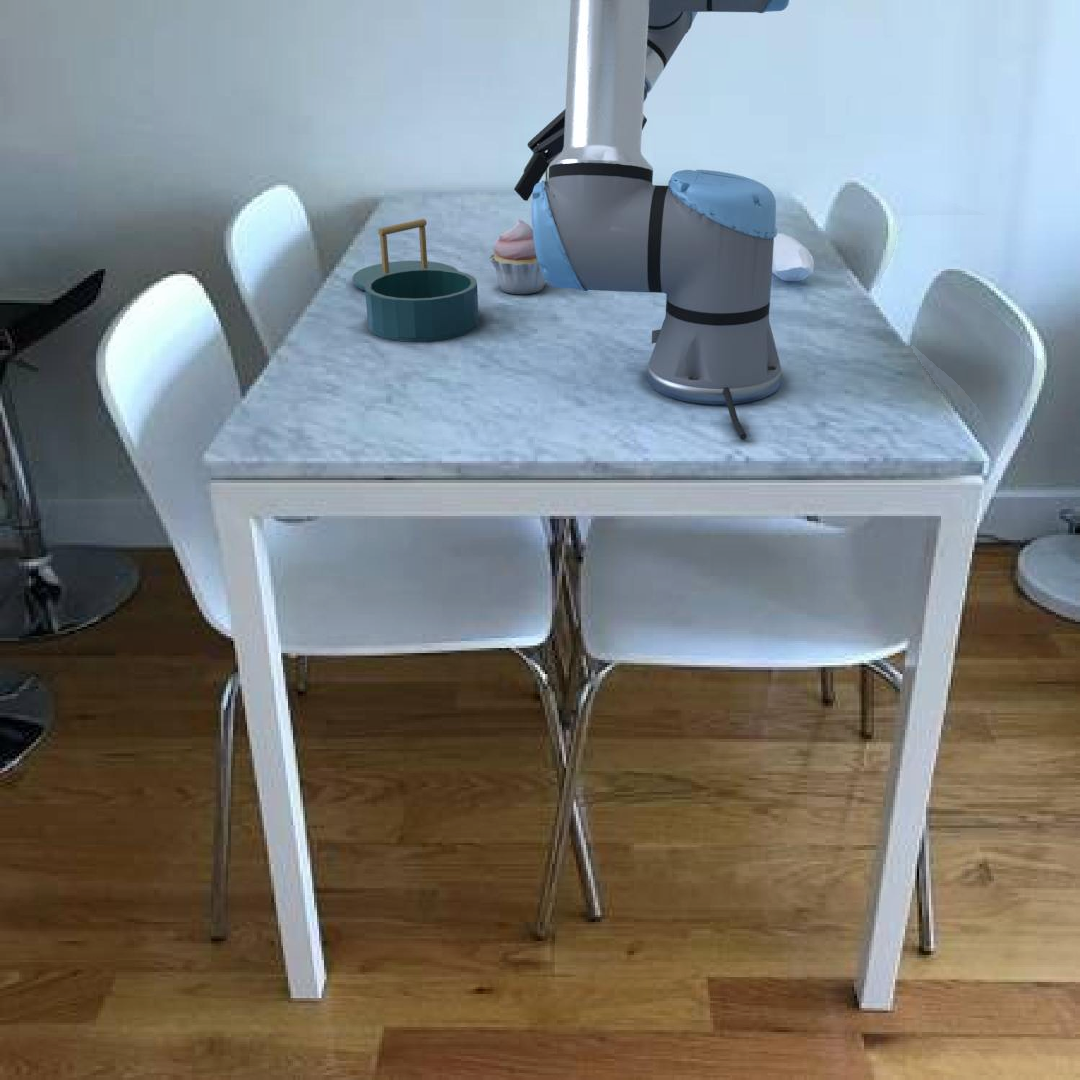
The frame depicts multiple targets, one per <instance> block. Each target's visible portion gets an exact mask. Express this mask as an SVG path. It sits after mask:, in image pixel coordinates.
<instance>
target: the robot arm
mask: <svg viewBox="0 0 1080 1080" xmlns="http://www.w3.org/2000/svg"><path fill="white" fill-rule="evenodd" d="M789 4H790V0H570V6H569V7H570V8H569V27H568V46H567V47H568V49H567V70H566V89H565V92H566V93H565V108H564V109H563V110H562V111H561V112H559V114H558V115H557V116H556V117H555V118H553V119H552V120H551V121H550V122H549V123H548V124H546V125H545V127H543V129H541V130H540V131H539V132H537V134H536V135H535V136H533V138H531V139H530V140H529V141H528V143H527V147H528V148H529V149H530V151H531V152H532V155H531V157H530V159H529V161H528V162H527V163H526V166H525V167H524V169H523V174H522V175H521V177H520V178H519V180H518V182H517V183H516V185H515V186H514V188H513V190H514V191H515V192H516V193H517V195H518V196H519V197H520V198H521V199H522V200H523V201H526V202H528V201H529V200H530V197H531V196H532V201H531V207H530V208H531V210H530V211H531V212H530V213H531V228H532V230H533V239H534V246H535V252H536V257H537V261H538V265H539V268H540V271H541V273H542V275H543V277H544V279H545V282H546V283H548V284H549V285H550V286H552V287H554V288H559V289H570V290H573V289H574V290H580V291H581V292H589V291H600V292H601V291H603V292H627V293H629V292H630V293H655V294H656V293H657V294H666V295H665V296H666V297H665V298H666V300H665V316H664V319H663V323H662V325H661V328H660V329H654V330H653V329H652V330H651V344H654V347H653V350H652V352H651V355H650V358H649V361H648V364H647V381H648V384H649V386H650V387H651V388H652V389H654V390H655V391H656V392H658V393H660V394H662V395H664V396H666V397H669V398H671V399H675V400H678V401H683V402H688V403H694V404H701V405H726V406H727V410H728V414H729V417H730V421H731V423H732V425H733V428H734V429H735V431H736V434H737V435H738V437H739V438H740V440H743V441H745V440H747V437H748V435H747V433H746V432H745V430H744V428H743V425H742V424H741V422H740V420H739V418H738V415H737V411H736V407H735V405H737V404H743V403H744V404H745V403H751V402H755V401H759V400H761V399H764V398H766V397H768V396H771V395H772V394H774V393H775V392H776V391H778V390H779V388H780V385H781V376H782V366H781V362H780V358H779V354H778V349H777V346H776V343H775V338H774V334H773V331H772V327H771V323H770V307H771V292H772V278H773V277H772V275H773V272H772V262H773V246H774V238H775V237H776V235H777V234H778V229H777V225H776V222H777V202H776V201H777V200H776V197H775V195H774V193H773V192H772V190H771V189H770V188H769V187H768V186H766V185H765V184H763V183H761V182H759V181H758V180H755V179H753V178H751V177H746V176H743V175H739V174H735V173H730V172H726V171H725V172H724V171H718V170H709V169H696V170H693V169H683V170H678V171H675V172H673V173H672V175H671V176H670V179H669V180H668V183H667V184H668V185H656V184H653V179H654V167H652V165H651V164H650V163H649V162H648V160H647V159H646V158H645V157H644V156H643V153H642V152H641V151H642V136H643V135H642V134H643V133H642V132H643V130H644V128H645V126H646V124H647V122H648V118H647V117H646V115H645V114H644V103H645V101H646V100H647V98H648V94H649V93H651V91H652V89H653V88H654V86H655V85H656V82H657V81H658V79H659V78H660V76H661V75H662V73H663V71H664V70H665V69H666V66H667V65H668V63H669V61H670V60H671V58H672V56H673V55H674V54H675V52H676V50H677V49H678V47H679V46H680V44H681V42H682V41H683V39H684V38H685V36H686V34H688V33H689V31H690V29H691V28H692V25H693V23H694V21H695V18H696V17H697V15H698V13H711V12H713V13H758V14H764V13H767V12H768V13H769V12H771V13H772V12H782V11H785V9H787V8H788V6H789ZM561 151H562V152H561ZM560 152H561V153H560ZM558 153H560V154H559V155H558V156H557V157H556V158H555V159H554V160H553V161H552V162H551V163H550V164H549V163H548V160H549V159H551V158H552V157H554V156H555V155H557V154H558ZM548 166H549V179H548V181H545V180H542V178H543V177H544V176H545V171H546V170H547V168H548ZM541 180H542V181H541Z"/></svg>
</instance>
